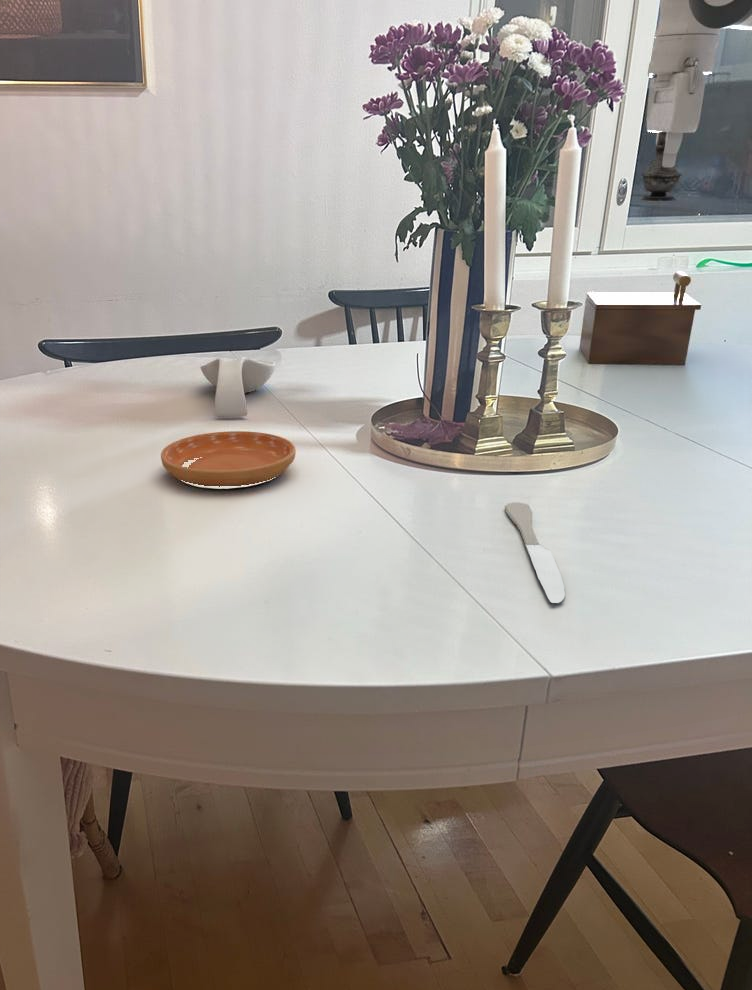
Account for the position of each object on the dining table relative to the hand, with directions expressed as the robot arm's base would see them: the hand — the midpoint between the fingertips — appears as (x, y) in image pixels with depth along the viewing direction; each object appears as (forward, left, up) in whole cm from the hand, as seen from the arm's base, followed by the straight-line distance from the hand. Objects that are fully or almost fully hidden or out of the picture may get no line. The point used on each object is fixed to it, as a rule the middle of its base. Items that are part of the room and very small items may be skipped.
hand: (663, 166), depth 143 cm
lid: (-1, -6, -21) cm, 22 cm away
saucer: (+56, +63, -30) cm, 89 cm away
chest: (-1, -6, -30) cm, 30 cm away
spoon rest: (+62, +28, -30) cm, 75 cm away
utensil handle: (+22, +83, -30) cm, 91 cm away
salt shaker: (0, 0, -5) cm, 5 cm away
